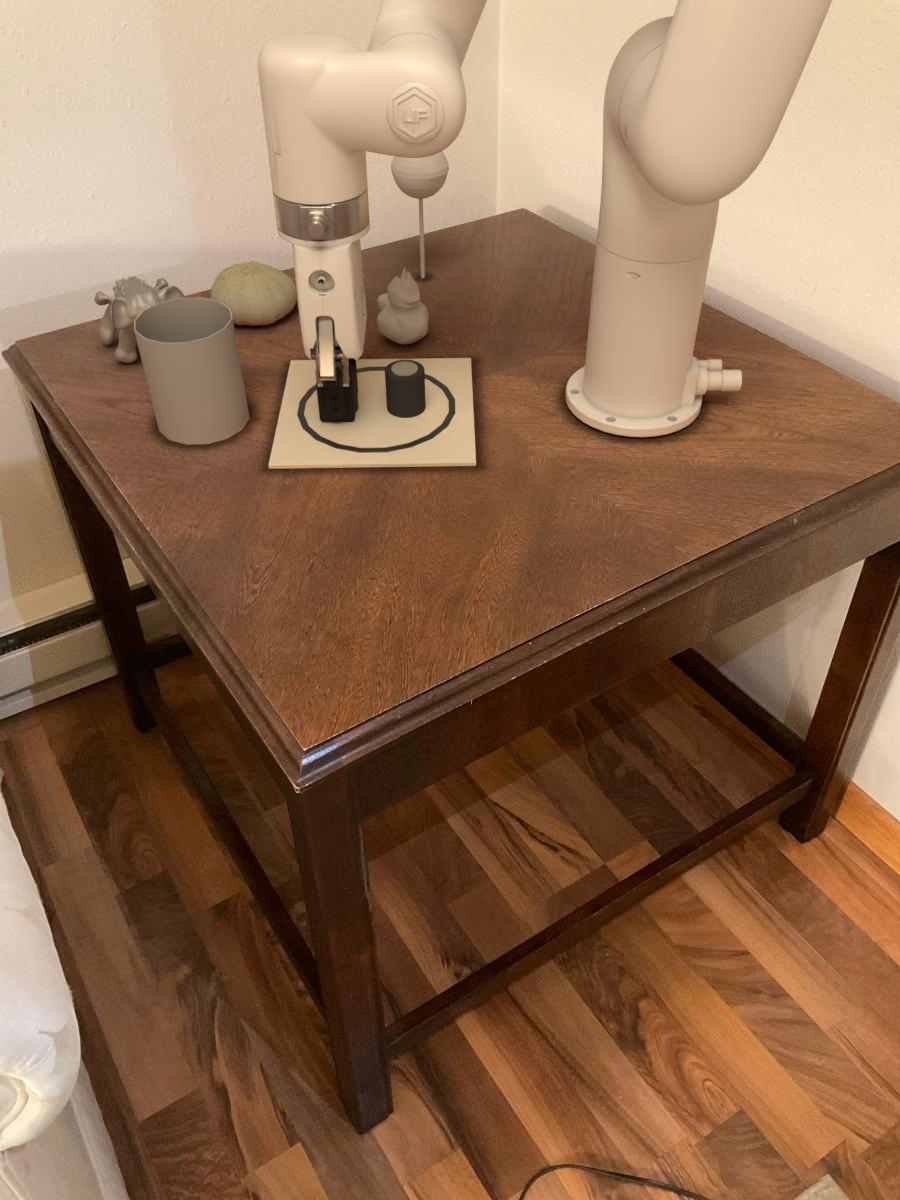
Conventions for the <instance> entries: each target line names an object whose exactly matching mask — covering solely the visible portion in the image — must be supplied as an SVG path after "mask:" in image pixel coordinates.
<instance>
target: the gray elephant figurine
mask: <svg viewBox="0 0 900 1200" xmlns="http://www.w3.org/2000/svg"><path fill="white" fill-rule="evenodd" d="M112 290H113V296H110V295H107V294H105V293H104V292H103V291H96V293H95V295H94V297H93V298H94V302H95V304H96V305H98V306H106V305H107V307H106V308H105V311H104V314H103V315H102V319H101V321H100V326H99V328H98V335H99V338H100V341H101V342H102V343H103V344H104V345H110V344H112V343H113V342H114V341H115V337H116V333H117V331H118V330H119V332H118V345H117V347H116V349H115V350H114V357H115V359H116V360H117V361H118V362H120V363H121V362H122V363H126V364H131V363H134V362H135V361H136V360H137V359H138V353H137V347H138V344H137V340H136V336H135V332H134V320H135V319H136V318H137V316H138V315H139V314H140V313H141V312H142V311H143V310H145V309H147V308H149V307H151V306H153V305H155V304H157V303H160V302H164V301H168V300H173V299H177V298H186V295H185V293H184V292H183V291H182V290H181V289H180V288H179V287H177V286H175V285H169V282H168V281H167V280H166V279H165V278H164V277H161V278H158V279H157V280H156V283H155V285H154V287H152V285H149V283H148V282H147V281H146V280H145V279H140V278H138V277H137V276H135V275H133V276H128V277H127V279H126V278H125V277H122V278H121V279H116V280H115V285H114V286H113V287H112Z"/></svg>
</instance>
